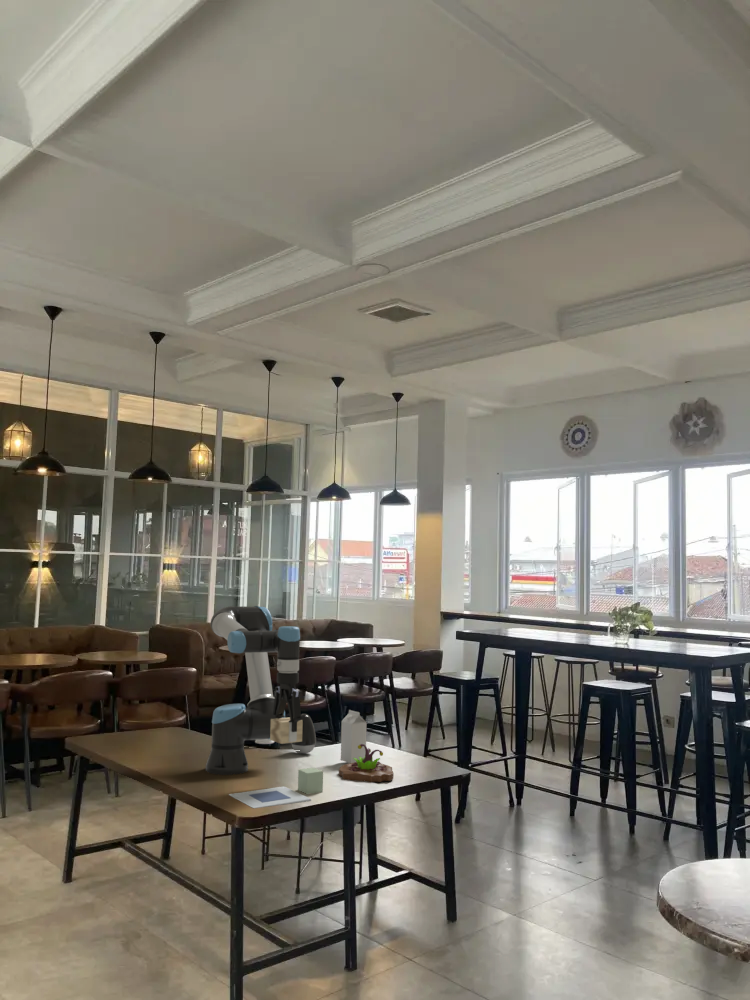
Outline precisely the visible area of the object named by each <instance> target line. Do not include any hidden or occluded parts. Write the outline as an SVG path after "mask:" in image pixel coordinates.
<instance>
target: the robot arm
mask: <svg viewBox="0 0 750 1000" xmlns="http://www.w3.org/2000/svg"><path fill="white" fill-rule="evenodd" d="M210 628H211V630H212V632H213V633H214V634H215V635H216V636H218V637H221V638H224V639H225V640H226V641H227V644H226V645H227V648H228V649H227V650H228V651H229V652H230V653H233V654H244V655H245V663H246V672H247V680H248V689H249V697H250V700H249V702H248V703H247V705H245V704H244V703H239V702H238V703H227V704H223V705H221V706H218V707H216V708H215V709H214V710H213V713H212V717H211V718H212V719H211V723H212V725H211V748H210V753H209V755H208V758H207V761H206V764H205V772H206V771H207V772H206V773H208V772H209V774H212V775H218V774H219V775H220V776H226V775H227V776H234V775H233V774H235V775H241V774H244V772H245V773H247V772H248V770H249V763H248V759H247V755H246V752H245V747H244V745H245V741H255V740H258V739H270V727H271V719H276V718H286V706H287V709H288V713H289V717H290V721H289V740H288V742H295V741H297V722H298V721H300V720H301V714H302V712H301V711H302V710H301V708H302V707H301V690H297V689H296V684H298V683H299V682H300V679H299V678H300V677H299V675H300V673H299V671H300V644H301V643H300V641H301V632H300V630H301V629H300V627H299V626H294V625H293V626H292V625H291V626H290V625H289V626H287V625H286V626H283V625H282V626H279V627H278V629H274V630H273V617H272V614H271V612H270V610H269V609H268V608H267V607H266V606H258V605H254V606H244V605H243V606H236V605H235V606H234V605H232V606H231V605H230V606H224V607H222V608H220V609H218V610H217V611H216V612H214V614H213V615H212V617H211V619H210ZM268 653H277V658H276V659H277V662H276V665H277V666H276V667H277V668H276V669H277V671H278V672H277V673H276V683H277V684H279V686H275V687H274V694H273V685H272V679H271V671H270V663H269V656H268ZM246 706H247V707H246ZM240 773H241V774H240Z"/></svg>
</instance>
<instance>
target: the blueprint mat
mask: <svg viewBox="0 0 750 1000" xmlns="http://www.w3.org/2000/svg"><path fill="white" fill-rule="evenodd" d="M228 796H230V797H231V798H233V799H235V800H236V801H240V802H241V803H242V804H244V805H246V806H248V807H250V808H252V809H253V808H254V809H260V808H268V807H274V806H275V807H276V806H281V805H282V806H283V805H289V804H291V805H292V804H298V803H305V802H306V801H307V802H311V801H312V799H311V797H308V796H306V795H304V794H301V793H300V792H298V791H296V790H293V789H292V788H290V787H286V786H284V785H283V786H277V787H276V786H275V787H271V788H265V789H256V790H250V791H248V790H247V791H243V792H235V793H229V794H228Z"/></svg>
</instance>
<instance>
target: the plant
mask: <svg viewBox="0 0 750 1000" xmlns="http://www.w3.org/2000/svg"><path fill="white" fill-rule="evenodd" d="M362 746H364V747H365V751H366V752H365V757H364V759H363V758H362V757H359V759H360V760H358V759H356V758H353V759H354V760H355V761H356V762H354V763H345V764H343V765H341V766H340V767H339V769H338V777H341V778H342V780H348V781H354V782H367V783H368V782H369V783H381V782H390V781H392V780H394V771H393V767H392V766H390V765H388V764H383V763H382V762H380V760H381V757H382V756H383V755H384V752H383V751H382V750H380V749H375V750H374V749H373V750H372V749H371V748H369V747H368V748H367V744H366V745H364V744H360V745H358V749H361V748H362ZM376 752H379V756H380V757H378V758H376V759H373V755H374V754H375V753H376Z"/></svg>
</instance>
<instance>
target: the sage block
mask: <svg viewBox="0 0 750 1000" xmlns="http://www.w3.org/2000/svg"><path fill="white" fill-rule="evenodd" d="M297 771H298V773H297V774H298V777H297V778H298V779H297V791H299V792H301V791H302V792H301V793H303V792H304V794H305V793H306V795H310V794H309V793H312V794H316V793H317V794H319V793H318V792H320V793H323V792H324V791H323V790H324V771H323V770H321V769H318V768H316V767H309V768H302V769H300V768H299V769H298V770H297Z"/></svg>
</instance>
